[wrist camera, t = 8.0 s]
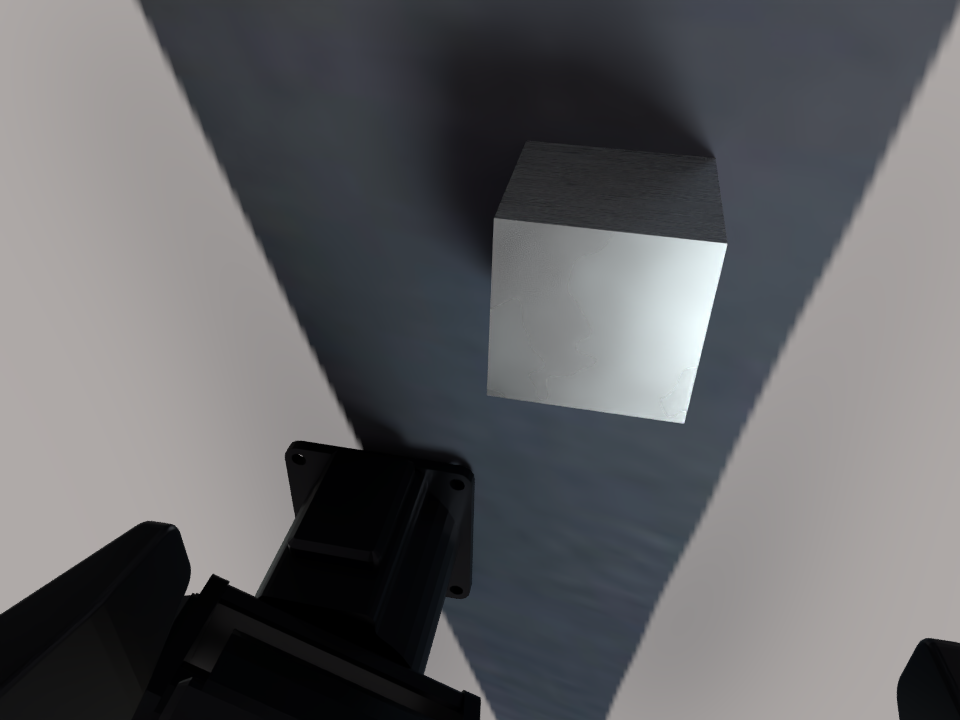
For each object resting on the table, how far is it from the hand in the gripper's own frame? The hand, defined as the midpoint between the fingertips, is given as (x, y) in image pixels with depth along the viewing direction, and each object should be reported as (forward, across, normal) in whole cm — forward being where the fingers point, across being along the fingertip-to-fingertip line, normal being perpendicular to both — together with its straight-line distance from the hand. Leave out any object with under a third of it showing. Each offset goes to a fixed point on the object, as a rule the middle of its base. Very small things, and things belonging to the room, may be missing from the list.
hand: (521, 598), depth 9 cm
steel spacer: (+12, 0, +1) cm, 12 cm away
